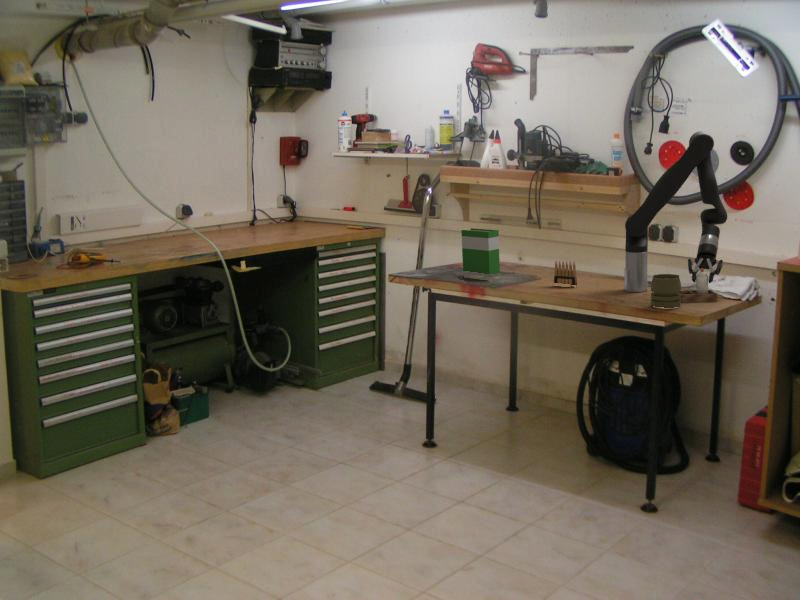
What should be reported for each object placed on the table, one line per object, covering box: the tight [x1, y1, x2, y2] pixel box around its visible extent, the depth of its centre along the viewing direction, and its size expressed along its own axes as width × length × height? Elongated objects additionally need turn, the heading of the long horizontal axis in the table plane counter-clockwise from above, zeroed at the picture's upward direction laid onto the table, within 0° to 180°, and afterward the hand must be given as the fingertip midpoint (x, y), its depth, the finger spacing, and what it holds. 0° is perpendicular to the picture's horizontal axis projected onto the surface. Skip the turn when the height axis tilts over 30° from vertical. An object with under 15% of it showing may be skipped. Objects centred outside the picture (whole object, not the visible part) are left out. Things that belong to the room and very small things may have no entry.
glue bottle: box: [695, 268, 709, 294], centre depth 349 cm, size 5×5×12 cm
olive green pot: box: [650, 273, 682, 308], centre depth 340 cm, size 11×12×11 cm
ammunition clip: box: [553, 260, 578, 286], centre depth 390 cm, size 11×2×12 cm, turn 54°
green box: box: [460, 227, 501, 274], centre depth 421 cm, size 18×7×24 cm, turn 42°
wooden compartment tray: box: [678, 289, 718, 303], centre depth 350 cm, size 17×9×3 cm, turn 86°
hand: (701, 281), depth 347 cm, fingers open, 5 cm apart
